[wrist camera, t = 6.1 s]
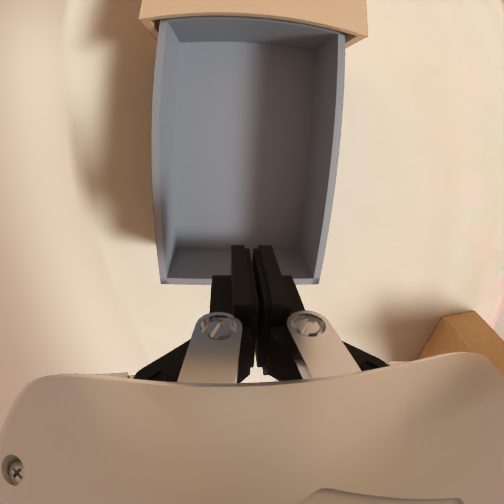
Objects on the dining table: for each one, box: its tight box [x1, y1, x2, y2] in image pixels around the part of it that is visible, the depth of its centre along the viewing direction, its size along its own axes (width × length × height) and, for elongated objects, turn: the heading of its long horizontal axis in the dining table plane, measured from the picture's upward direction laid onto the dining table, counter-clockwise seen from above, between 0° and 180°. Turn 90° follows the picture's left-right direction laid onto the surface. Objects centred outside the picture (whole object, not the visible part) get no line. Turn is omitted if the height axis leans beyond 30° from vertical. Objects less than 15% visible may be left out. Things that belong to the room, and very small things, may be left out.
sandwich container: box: [417, 311, 504, 377], centre depth 24 cm, size 9×15×15 cm, turn 175°
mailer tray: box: [151, 15, 345, 285], centre depth 14 cm, size 15×9×4 cm, turn 177°
